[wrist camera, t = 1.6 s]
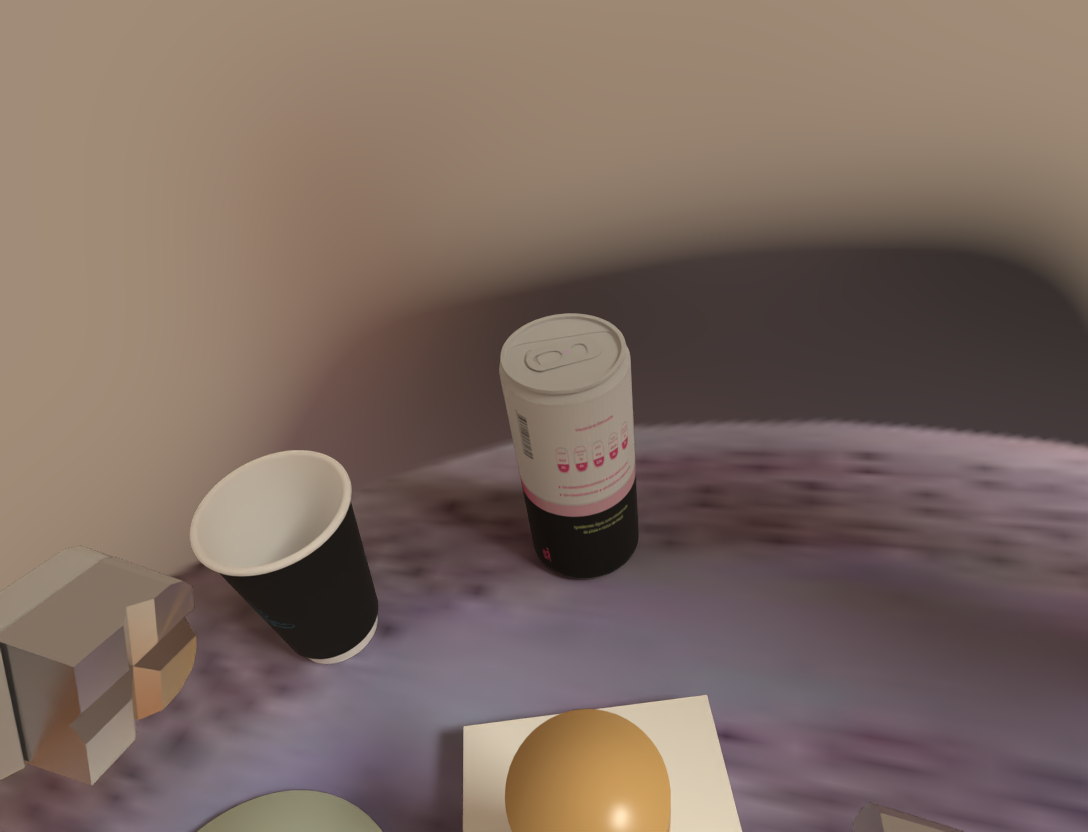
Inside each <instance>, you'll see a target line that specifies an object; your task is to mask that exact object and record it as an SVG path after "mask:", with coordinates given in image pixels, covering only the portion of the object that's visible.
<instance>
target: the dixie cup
mask: <svg viewBox="0 0 1088 832" xmlns="http://www.w3.org/2000/svg"><path fill="white" fill-rule="evenodd" d="M351 492H352V491H351V482H350V478H349V476H348V474H347V472H346V471H345V469H344V468H343V467H342V465H340V464H339V463H338V462H337V461H336V460H335V459H333V458H331V457H329V456H327V455H325V454H322V453H319V452H314V451H306V450H292V451H284V452H278V453H273V454H270V455H266V456H263V457H261V458H258V459H255V460H253V461H251V462H248V463H246V464H244V465H243V466H241V467H239V468H237V469H236V470H234V471H233V472H231V473H230V474H228V475H227V476H226V477H224V478H223V479H222V480H220V481H219V482H218V483H217V484H216V485H215V486H214V487H213V488H212V489H211V490H210V491H209V492H208V494H207V495H206V496H205V497H204V498H203V500H202V501H201V503H200V504H199V506H198V507H197V509H196V511H195V514H194V516H193V518H192V522H191V525H190V544H191V547H192V550H193V552H194V554H195V556H196V557H197V559H198V560H199V561H200V562H201V563H202V564H204V565H205V566H206V567H208V568H209V569H211V570H213V571H215V572H218V573H220V574H221V575H222V576H223V577H224V578H225V579H226V580H227V582H228V583H229V584H230V585H231V586H232V587H233V588H234V589H235V590H236V591H237V592H238V593H239V594H240V595H241V596H242V597H243V598H244V599H245V600H246V601H247V602H248V603H249V604H250V605H251V606H252V607H253V608H254V609H255V610H256V611H257V612H258V614H259V615H260V616H261V617H262V618H263V619H264V620H265V621H266V622H267V623H268V624H269V625H270V626H271V627H272V628H273V629H274V630H275V631H276V632H277V633H278V634H279V635H280V636H281V637H282V638H283V639H284V640H285V641H286V642H287V643H288V644H289V646H290V647H291V648H292V649H293V650H294V651H295V652H297V653H298V654H300V655H302V656H304V657H307V658H308V659H310V660H312V661H314V662H317V663H321V664H333V663H338V662H342V661H344V660H347V659H349V658H351V657H353V656H354V655H356V654H357V653H359V652H360V651H361V650H362V649H363V648H364V647H365V646H366V645H367V644H368V643H369V641H370V640H371V638H372V637H373V635H374V633H375V630H376V627H377V622H378V600H377V596H376V592H375V589H374V585H373V581H372V578H371V574H370V570H369V567H368V563H367V559H366V556H365V552H364V548H363V545H362V541H361V537H360V534H359V530H358V526H357V523H356V519H355V515H354V512H353V508H352V504H351Z"/></svg>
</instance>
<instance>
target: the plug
mask: <svg viewBox="0 0 1088 832" xmlns="http://www.w3.org/2000/svg"><path fill="white" fill-rule="evenodd" d="M505 807H506V814H507V818H508V823H509V825H510V828H511V831H512V832H671V789H670V782H669V777H668V773H667V769H666V766H665V764H664V761H663V759H662V756H661V755H660V753H659V751H658V749H657V748H656V746H655V745H654V743H653V742H652V741H651V739H650V738H649V737H648V736H647V735H646V734H645V733H644V732H643V731H642V730H641V729H640V728H639V727H637V726H636V725H635V724H633V723H632V722H630V721H629V720H627V719H625V718H623V717H621V716H619V715H617V714H614V713H611V712H608V711H603V710H597V709H579V710H573V711H568V712H565V713H562V714H559V715H556V716H554V717H552V718H550V719H548V720H547V721H545V722H544V723H542V724H540V725H539V726H538V727H537V728H536V729H534V730H533V731H532V732H531V733H530V734H529V735H528V736H527V738H526V739H525V740H524V741H523V743H522V744H521V745H520V747H519V748H518V750H517V752H516V754H515V756H514V758H513V760H512V762H511V765H510V768H509V771H508V775H507V779H506V786H505Z"/></svg>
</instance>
